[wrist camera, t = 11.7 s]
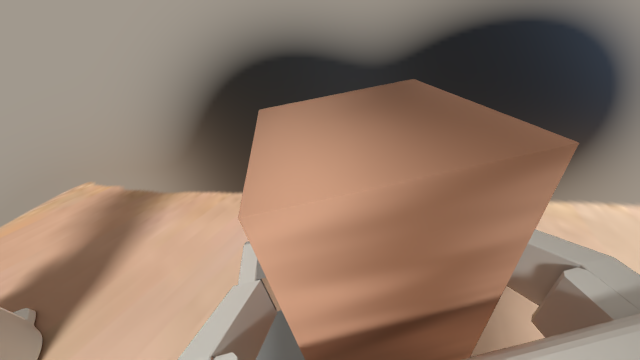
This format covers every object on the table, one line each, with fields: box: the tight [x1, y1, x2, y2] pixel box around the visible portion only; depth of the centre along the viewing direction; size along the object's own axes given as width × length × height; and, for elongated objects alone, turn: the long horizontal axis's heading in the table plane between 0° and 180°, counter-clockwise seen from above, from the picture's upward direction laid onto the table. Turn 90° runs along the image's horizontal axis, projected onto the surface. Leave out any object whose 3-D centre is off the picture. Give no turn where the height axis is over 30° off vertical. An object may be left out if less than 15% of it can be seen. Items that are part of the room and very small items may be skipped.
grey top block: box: [256, 310, 305, 360], centre depth 18 cm, size 9×9×4 cm
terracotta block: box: [238, 79, 579, 360], centre depth 8 cm, size 5×5×10 cm
